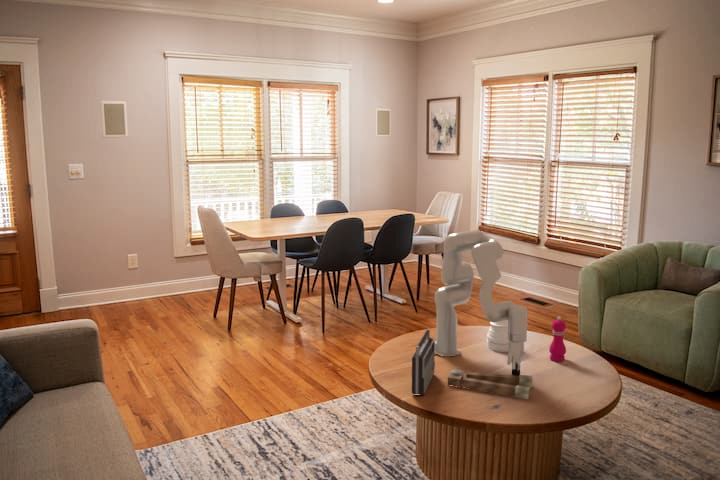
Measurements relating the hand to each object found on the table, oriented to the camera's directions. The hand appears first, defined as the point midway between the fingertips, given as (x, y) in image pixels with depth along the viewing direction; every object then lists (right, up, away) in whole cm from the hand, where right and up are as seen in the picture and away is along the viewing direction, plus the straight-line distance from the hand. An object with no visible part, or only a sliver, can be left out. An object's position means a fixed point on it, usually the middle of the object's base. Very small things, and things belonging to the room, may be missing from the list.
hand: (515, 379), depth 247 cm
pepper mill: (+25, +3, +25) cm, 35 cm away
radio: (-37, -2, -1) cm, 37 cm away
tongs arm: (-7, -2, -2) cm, 8 cm away
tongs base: (-12, -3, -5) cm, 13 cm away
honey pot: (+3, +6, +42) cm, 42 cm away
